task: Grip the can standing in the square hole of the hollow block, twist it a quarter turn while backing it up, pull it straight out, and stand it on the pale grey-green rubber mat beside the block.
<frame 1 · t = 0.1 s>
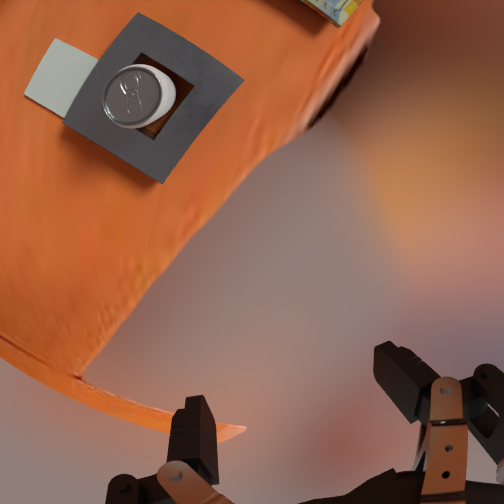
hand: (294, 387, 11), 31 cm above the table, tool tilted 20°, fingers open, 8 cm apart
mat: (59, 76, 23), on the table
hollow block: (151, 95, 29), on the table
can: (151, 95, 29), resting in hollow block
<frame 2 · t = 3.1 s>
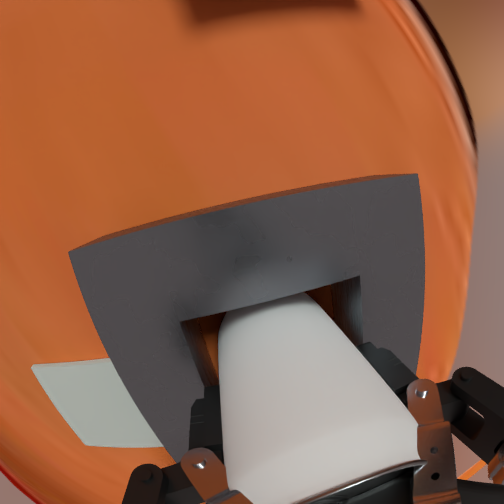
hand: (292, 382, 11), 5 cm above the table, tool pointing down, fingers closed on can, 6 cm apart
mat: (100, 408, 16), on the table
hollow block: (272, 333, 16), on the table
can: (271, 332, 16), resting in hollow block, touching gripper
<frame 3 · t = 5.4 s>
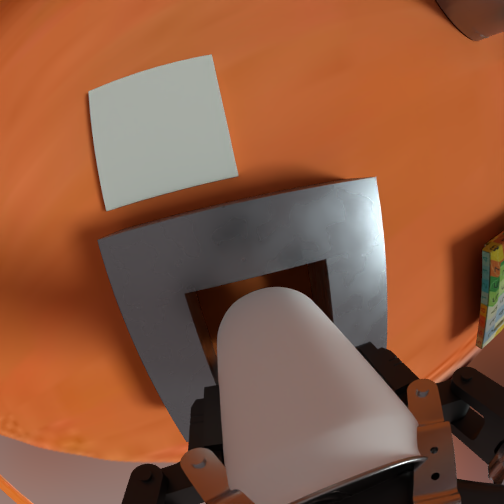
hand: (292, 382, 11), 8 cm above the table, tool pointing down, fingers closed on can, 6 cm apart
mat: (157, 128, 16), on the table
puzzle game: (503, 261, 24), on the table
hollow block: (259, 311, 19), on the table
can: (270, 332, 16), point 3 cm above the table, touching gripper
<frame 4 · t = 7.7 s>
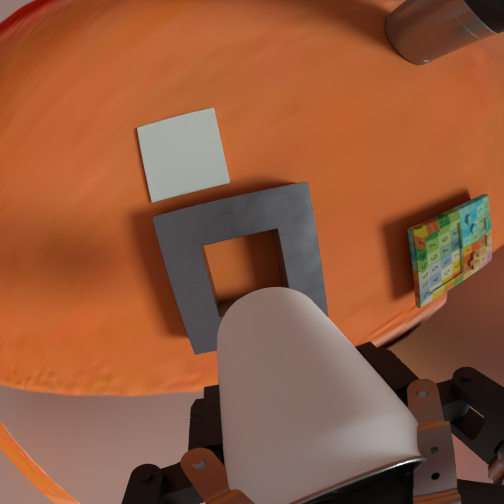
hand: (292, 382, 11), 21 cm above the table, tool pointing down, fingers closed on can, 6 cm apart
mat: (182, 154, 29), on the table
puzzle game: (444, 242, 36), on the table
hollow block: (243, 264, 32), on the table
can: (270, 333, 16), point 16 cm above the table, touching gripper
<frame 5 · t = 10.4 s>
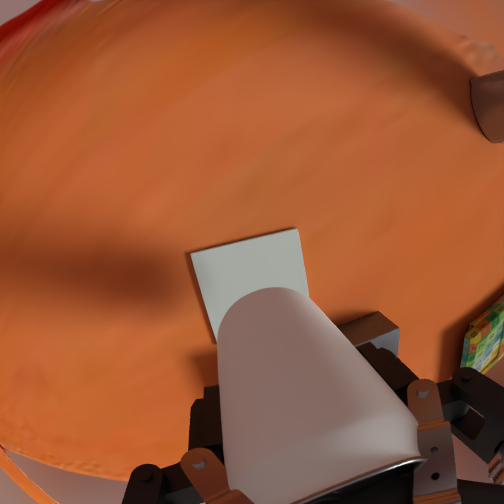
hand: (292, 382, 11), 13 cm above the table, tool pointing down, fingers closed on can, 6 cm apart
mat: (255, 290, 24), on the table
puzzle game: (486, 327, 31), on the table
hollow block: (315, 391, 27), on the table
can: (270, 333, 16), point 8 cm above the table, touching gripper
when the fingers open (7 cm above the table, at t = 12.5 s): can drops 1 cm, resting on mat.
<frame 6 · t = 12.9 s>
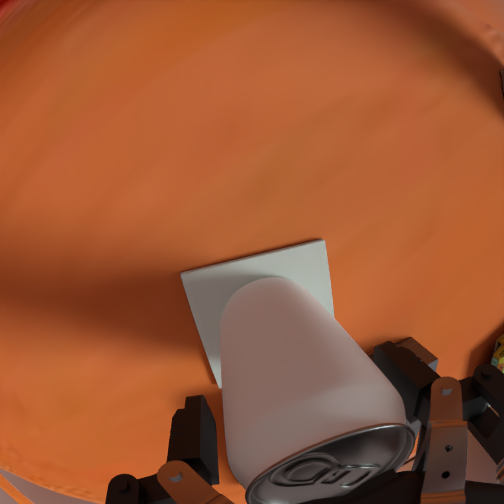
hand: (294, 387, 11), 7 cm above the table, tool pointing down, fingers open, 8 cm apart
mat: (267, 319, 18), on the table
hollow block: (333, 427, 21), on the table
can: (269, 321, 18), resting on mat
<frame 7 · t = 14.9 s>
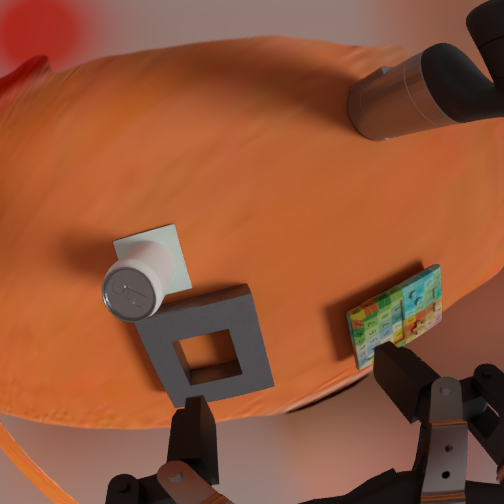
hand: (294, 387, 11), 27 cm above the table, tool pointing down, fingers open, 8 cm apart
mat: (152, 264, 36), on the table
puzzle game: (390, 309, 44), on the table
hollow block: (207, 345, 39), on the table
can: (152, 264, 35), resting on mat
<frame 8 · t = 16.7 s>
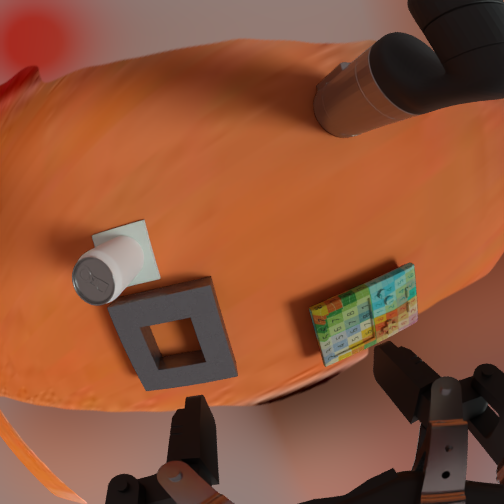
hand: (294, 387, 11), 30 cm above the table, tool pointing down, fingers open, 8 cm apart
mat: (125, 256, 38), on the table
puzzle game: (361, 308, 46), on the table
hollow block: (176, 333, 42), on the table
can: (125, 256, 38), resting on mat
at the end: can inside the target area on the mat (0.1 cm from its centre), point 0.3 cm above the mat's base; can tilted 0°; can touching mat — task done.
